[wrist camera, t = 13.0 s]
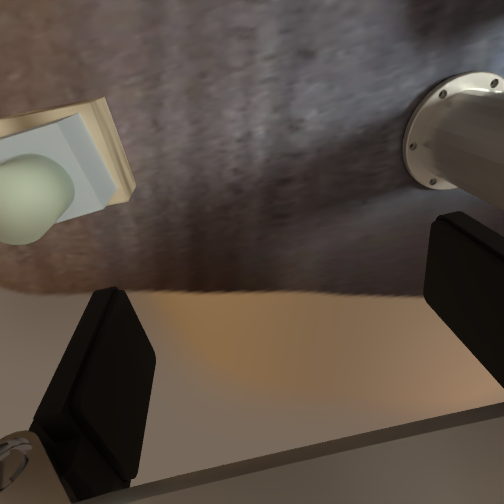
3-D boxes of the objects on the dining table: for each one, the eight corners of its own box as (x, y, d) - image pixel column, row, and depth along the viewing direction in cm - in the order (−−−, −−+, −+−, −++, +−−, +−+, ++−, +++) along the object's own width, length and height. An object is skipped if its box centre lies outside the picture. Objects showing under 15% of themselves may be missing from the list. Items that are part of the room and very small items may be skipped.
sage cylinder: (57, 148, 25) (26, 167, 20) (84, 209, 27) (62, 237, 23) (-10, 159, 24) (-56, 181, 20) (24, 220, 27) (-11, 250, 23)
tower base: (105, 96, 32) (90, 102, 28) (137, 184, 37) (128, 201, 32) (13, 114, 32) (-17, 123, 28) (56, 200, 36) (36, 219, 32)
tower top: (79, 112, 28) (56, 122, 24) (117, 188, 32) (103, 208, 27) (2, 136, 28) (-35, 150, 24) (48, 209, 32) (24, 232, 28)
